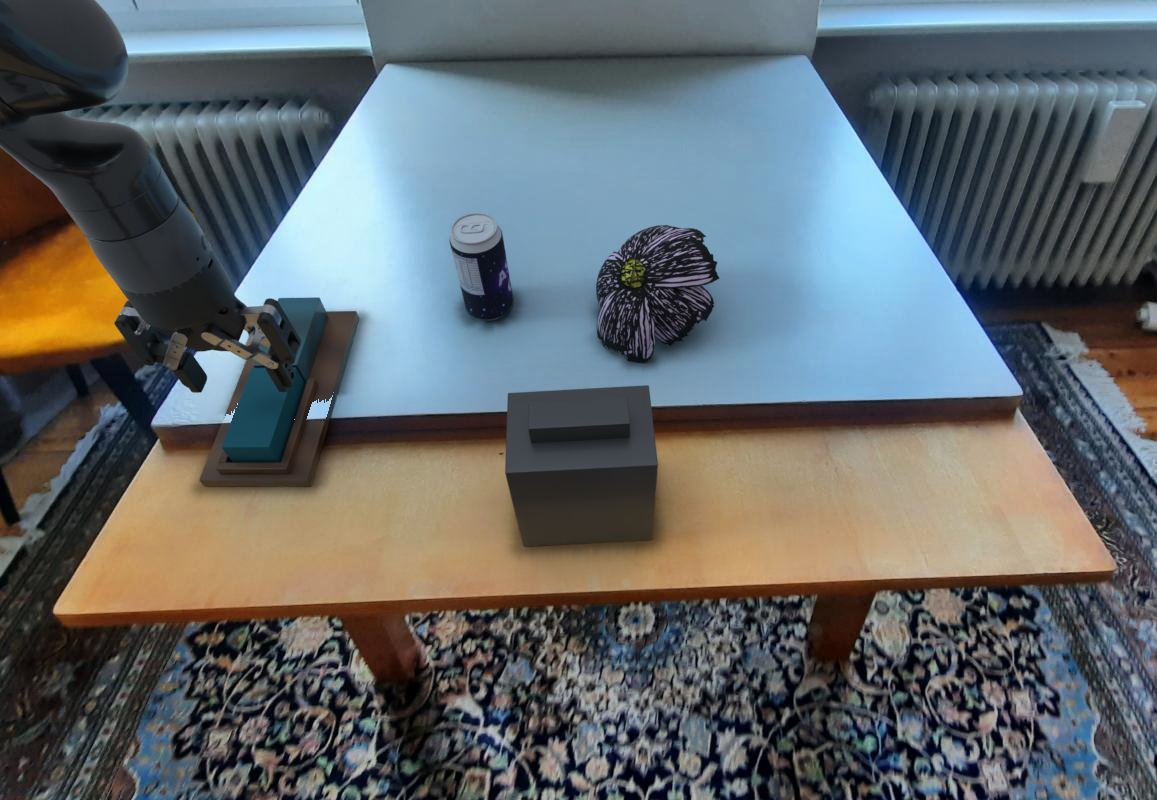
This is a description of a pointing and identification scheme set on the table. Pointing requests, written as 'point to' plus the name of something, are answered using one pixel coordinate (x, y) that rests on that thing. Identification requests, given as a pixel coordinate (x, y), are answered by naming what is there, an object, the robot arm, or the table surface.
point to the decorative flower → (654, 290)
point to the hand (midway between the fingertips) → (244, 385)
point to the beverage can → (481, 266)
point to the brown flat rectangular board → (322, 376)
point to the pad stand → (582, 465)
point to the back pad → (262, 419)
